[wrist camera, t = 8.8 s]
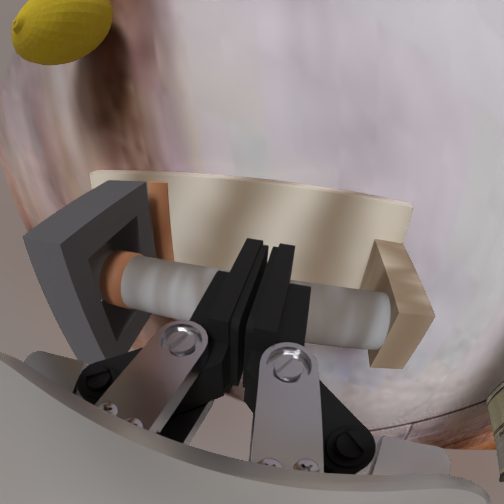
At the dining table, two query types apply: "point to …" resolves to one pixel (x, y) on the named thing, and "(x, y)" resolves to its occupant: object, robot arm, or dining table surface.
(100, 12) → the lemon
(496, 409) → the coffee can
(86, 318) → the grey frame
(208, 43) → the dining table surface
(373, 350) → the pipe stand
